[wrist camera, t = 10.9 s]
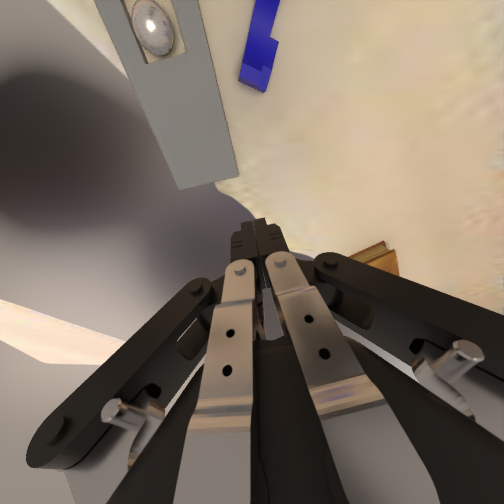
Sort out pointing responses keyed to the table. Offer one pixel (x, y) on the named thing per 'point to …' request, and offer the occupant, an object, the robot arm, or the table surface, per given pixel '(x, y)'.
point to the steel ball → (152, 27)
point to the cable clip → (260, 46)
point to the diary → (379, 258)
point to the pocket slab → (177, 96)
